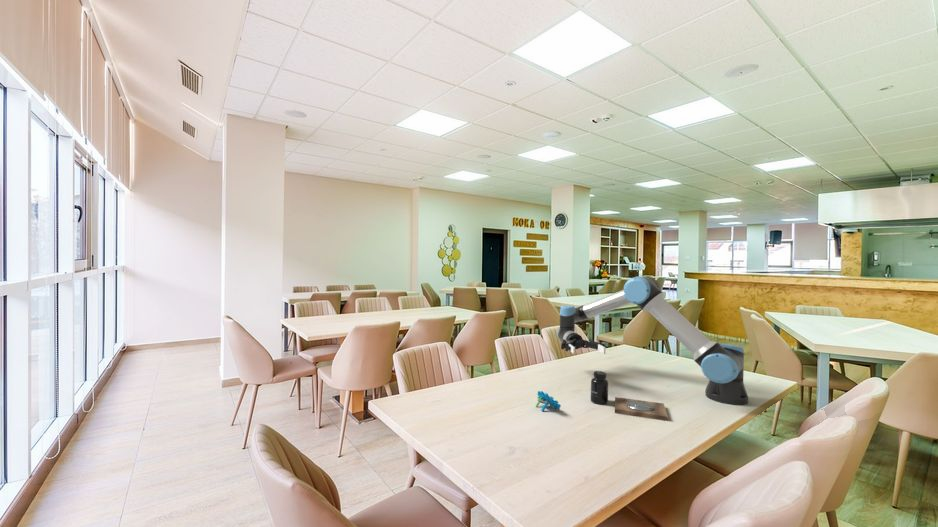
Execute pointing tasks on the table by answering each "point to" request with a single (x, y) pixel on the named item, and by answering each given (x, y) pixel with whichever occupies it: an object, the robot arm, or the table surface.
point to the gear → (546, 400)
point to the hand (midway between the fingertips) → (589, 350)
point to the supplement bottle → (599, 388)
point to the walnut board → (640, 408)
